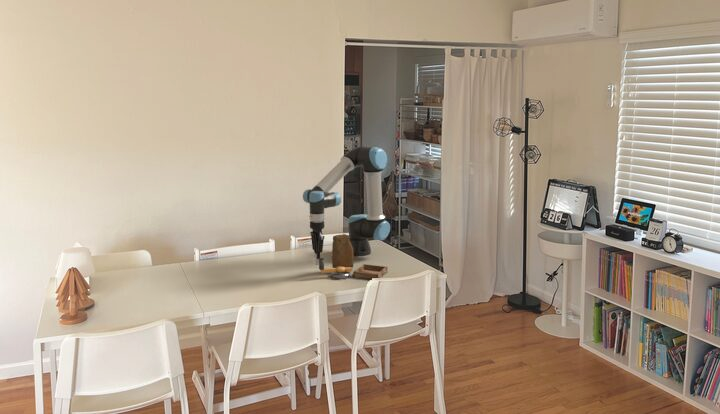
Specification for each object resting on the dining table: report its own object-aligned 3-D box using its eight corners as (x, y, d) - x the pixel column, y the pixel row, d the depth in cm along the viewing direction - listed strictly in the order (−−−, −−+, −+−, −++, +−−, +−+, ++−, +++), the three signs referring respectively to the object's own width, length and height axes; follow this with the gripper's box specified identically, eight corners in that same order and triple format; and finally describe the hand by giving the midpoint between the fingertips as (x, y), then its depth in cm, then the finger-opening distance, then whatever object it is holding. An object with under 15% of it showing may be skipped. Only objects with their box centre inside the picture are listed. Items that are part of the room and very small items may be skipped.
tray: (364, 269, 340) (364, 264, 339) (387, 272, 335) (387, 266, 334) (353, 277, 326) (353, 271, 326) (377, 280, 321) (377, 274, 321)
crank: (351, 269, 330) (351, 255, 329) (352, 272, 325) (352, 258, 324) (318, 270, 328) (318, 256, 326) (319, 273, 323) (319, 259, 321)
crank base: (335, 272, 334) (335, 267, 333) (353, 275, 330) (353, 269, 330) (328, 278, 325) (328, 273, 324) (345, 280, 321) (345, 275, 320)
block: (336, 273, 332) (336, 237, 328) (331, 270, 339) (330, 234, 335) (354, 271, 336) (354, 235, 332) (349, 267, 343) (349, 232, 339)
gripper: (305, 219, 328) (306, 262, 333) (315, 224, 317) (316, 268, 321) (318, 217, 332) (319, 260, 336) (328, 222, 320) (329, 266, 325)
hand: (317, 264), depth 329 cm, fingers closed
